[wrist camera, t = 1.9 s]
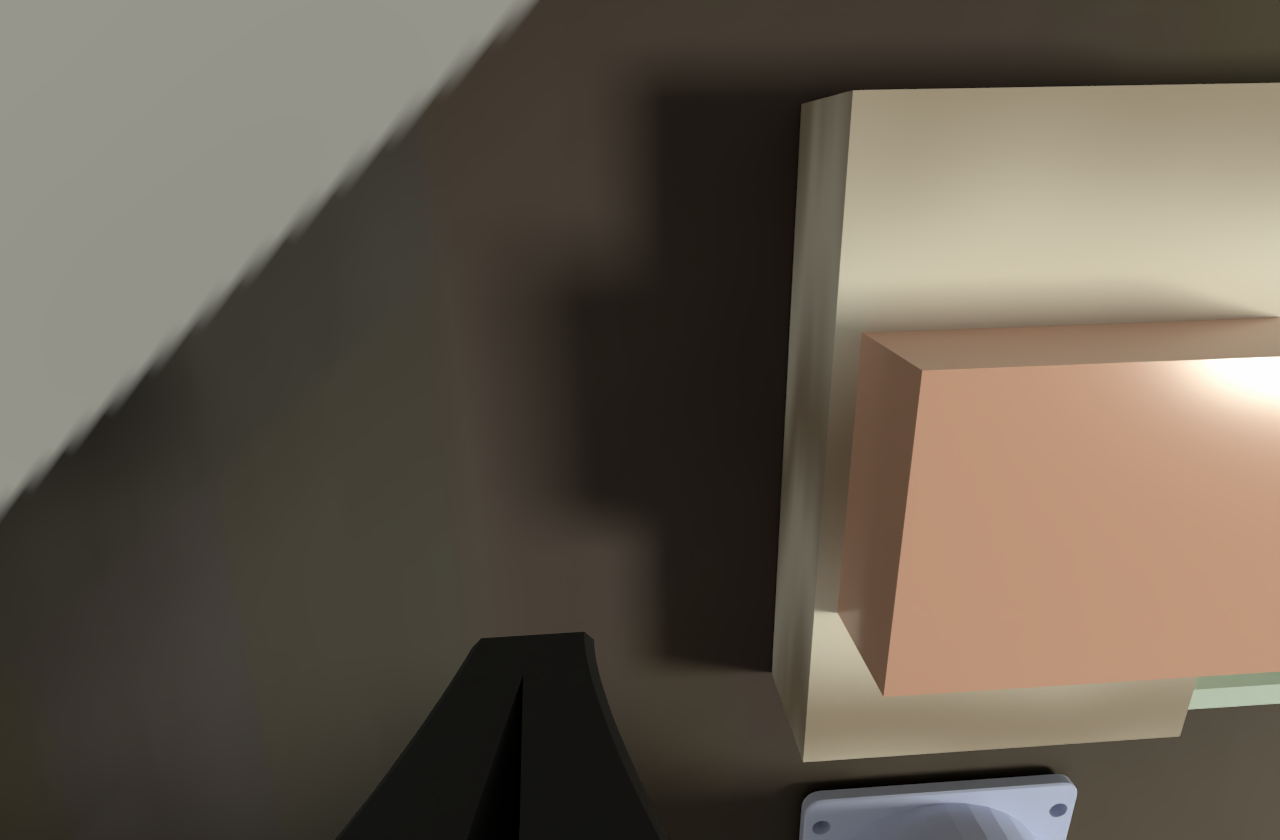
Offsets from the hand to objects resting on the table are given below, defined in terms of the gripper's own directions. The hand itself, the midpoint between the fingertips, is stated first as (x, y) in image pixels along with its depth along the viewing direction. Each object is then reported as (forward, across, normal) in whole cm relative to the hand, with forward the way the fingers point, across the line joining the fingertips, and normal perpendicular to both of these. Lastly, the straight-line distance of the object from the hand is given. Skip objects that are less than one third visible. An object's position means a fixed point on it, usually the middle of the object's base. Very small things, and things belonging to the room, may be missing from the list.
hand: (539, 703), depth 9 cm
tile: (+5, -10, 0) cm, 11 cm away
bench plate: (+8, -10, 0) cm, 13 cm away
